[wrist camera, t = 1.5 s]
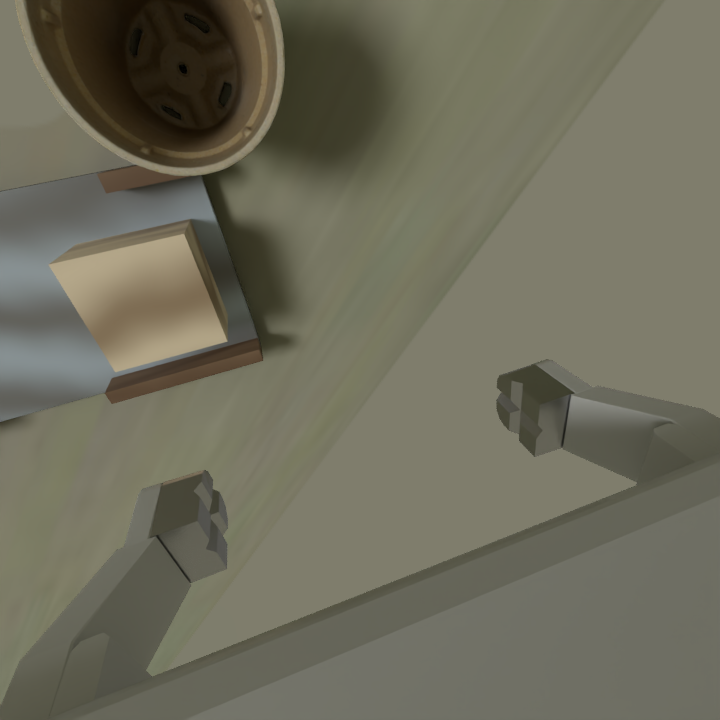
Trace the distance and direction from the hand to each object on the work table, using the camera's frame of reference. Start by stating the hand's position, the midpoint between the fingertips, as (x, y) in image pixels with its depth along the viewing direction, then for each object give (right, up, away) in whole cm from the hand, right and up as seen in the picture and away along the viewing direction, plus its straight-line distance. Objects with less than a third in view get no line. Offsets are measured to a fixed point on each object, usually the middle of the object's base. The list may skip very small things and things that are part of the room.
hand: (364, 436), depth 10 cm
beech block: (-14, +7, +16) cm, 22 cm away
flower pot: (-10, +19, +12) cm, 24 cm away
